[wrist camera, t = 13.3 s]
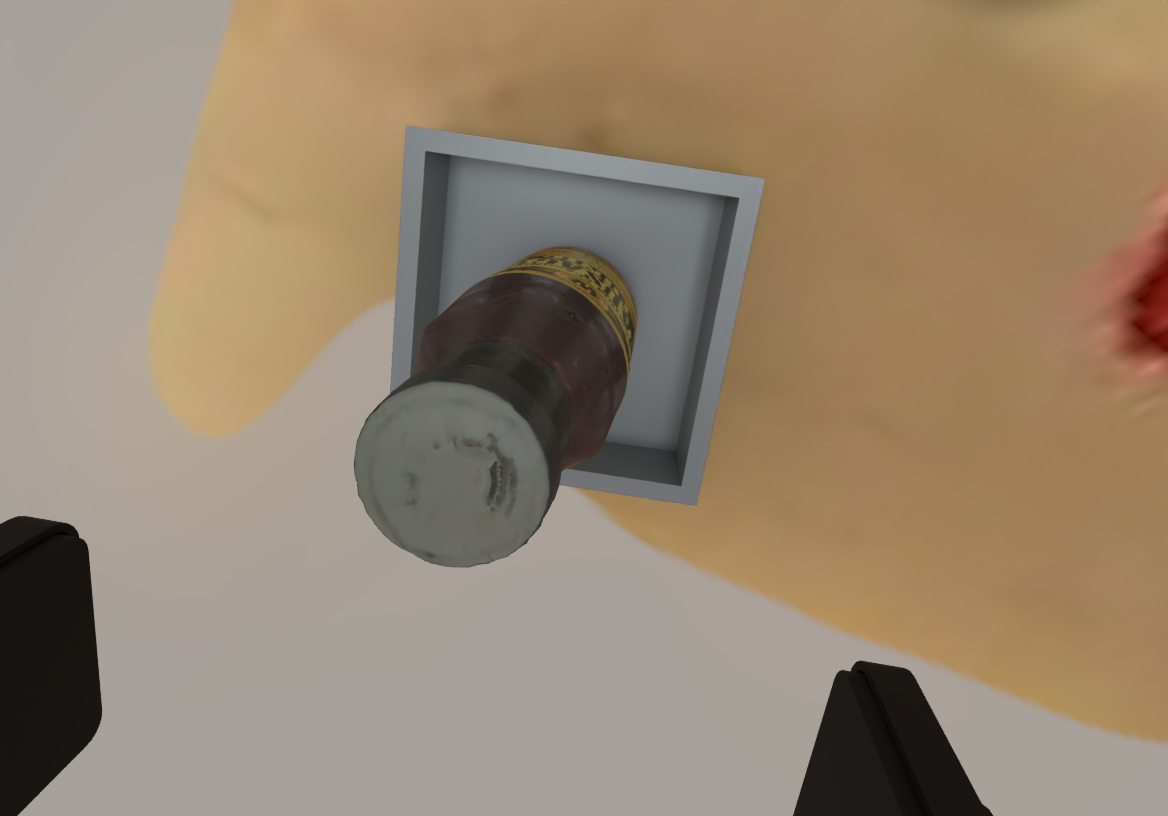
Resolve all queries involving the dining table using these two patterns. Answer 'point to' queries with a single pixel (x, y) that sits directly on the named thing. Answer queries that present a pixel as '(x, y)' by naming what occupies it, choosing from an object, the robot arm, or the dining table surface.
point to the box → (617, 234)
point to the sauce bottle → (499, 408)
